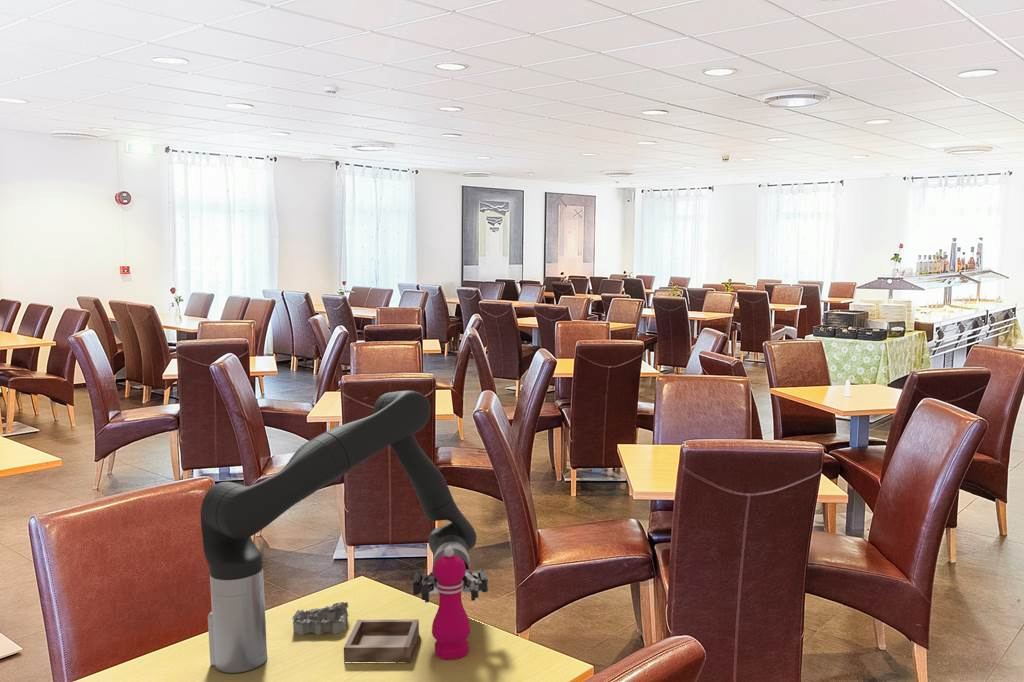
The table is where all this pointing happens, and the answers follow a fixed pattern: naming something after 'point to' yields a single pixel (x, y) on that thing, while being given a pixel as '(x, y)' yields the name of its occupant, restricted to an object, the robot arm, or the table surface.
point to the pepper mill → (450, 608)
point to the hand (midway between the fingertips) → (450, 596)
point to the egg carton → (321, 619)
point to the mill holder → (382, 641)
